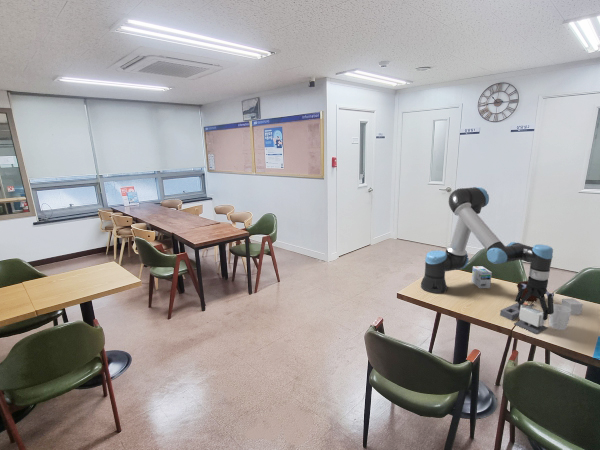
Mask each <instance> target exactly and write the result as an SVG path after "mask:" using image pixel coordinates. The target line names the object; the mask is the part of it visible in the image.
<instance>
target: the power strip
mask: <svg viewBox="0 0 600 450" xmlns="http://www.w3.org/2000/svg"><path fill="white" fill-rule="evenodd" d="M523 304H525V306H529V307H532V308H533V307H534V306H535V304H534V303H531V304H528V303H527V302H526V301H525V302H524V303H523ZM518 307H519V303H518V302H516V303H513V304H512V305H509V306H506V307H504V308H502V309H500V313H499V316H501V317H503V318H505V319H507V320H510V321H514V320H516V319H518V318H520V317H519V313H520V310H518Z"/></svg>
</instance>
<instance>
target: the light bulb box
mask: <svg viewBox="0 0 600 450" xmlns="http://www.w3.org/2000/svg"><path fill="white" fill-rule="evenodd" d="M492 274H493V272H492V271H490V270H489V269H487V268H486V267H484V266H482V265H481V266H478V265H477V266H475V265H474V266H472V274H471V282H470V283H473V284H474V285H475V287H478V288H479V289H491V283H492V276H493V275H492Z"/></svg>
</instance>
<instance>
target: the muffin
mask: <svg viewBox="0 0 600 450" xmlns="http://www.w3.org/2000/svg"><path fill="white" fill-rule="evenodd" d="M523 283H524V284H525V285H527V284H528V280H523V281H520V282H519V283H518V284H517V285H516V287H517V290H518V291H517V293H518V292H519V289H520V284H523ZM527 292H528V290H527V288H525V290H524V292H523V295H522V297H521V299H522V298H523V297H524V296H525V295H526V293H527ZM521 299H520V300H521ZM538 300H539V299H538V297H536V296H533V295H530V297H529V298H528V299H527V300H526V301H525V302H527V301H528V303H530V302H531V303H535V302H537V301H538ZM534 301H535V302H534Z"/></svg>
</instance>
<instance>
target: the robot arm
mask: <svg viewBox="0 0 600 450" xmlns="http://www.w3.org/2000/svg"><path fill="white" fill-rule="evenodd" d="M489 203H490V197H489V193H488V192H487V190H486V189H485V188H483V187H477V186H474V187H466V188H462V187H461V188H457V189H455V190H452V192H451V193H450V195H449V197H448V206H449V208H450V210H451V211H452V213H453V214H454V215H455V216H458V219H457V222H456V225H455V227H454V232H453V235H452V238H451V242H450V244H449V245H448V246H447V247H446V249H445V251H444V250H440V249H439V250H431V251H428V252H427V253H426V255H425V260H424V261H425V263H424V264H425V265H424V276H423V278H422V280H421V283H420V288H421V289H422V290H423V291H425V292H428V293H432V294H443V293H446V292H447V289H448V285H447V282H446V272H452V271H457V270H458V271H459V270H461V269H464V268H466V267H467V265H468V263H469V261H470V260H469V259H470V258H469V255H468V252H467V250H466V248H467V245H468V241H469V238H470V237H471V236H470V234H471V233H472V234H473V235H474V237H475V238H476V239H477V240H478V241H479V242H480V244H481V246H483V247H484V248H485V250H486V251H487V252H486V256H487V260H488V261H489V262H490V263H492V264H495V265H496V264H504V263H509V262H515V261H523V262H527V263H530V265H529V271H528V276H527V277H528V278H527V281H528V284H527V285H525V284H524V283H523V284H520V289H519V292H518V291H517V293H516V296H515V299H514V301H515V302H516V303H519V307H518V310H520V312H521V308H523V307H525V304H523V303H524V302H525V303H526V302H527V301H526V300H527V299H528V298H529V297H530V295H533V296H536V297H538V299H537V300H539V301H538V302H539V303H540V307H541V311H542V312H543V313H541V318H540V324H539V326H542V325H543V326H545V321H547V320H548V319H549V316H550V315H551V314H553V313H554V307H553V304H554V296H555V293H553V292H549V291H548V290H547V289H548V285H549V278H550V271H551V266H552V261H553V258H554V257H553V253H554V249H553V247H552V246H549V245H545V244H534V245H533V246H529V245H526V244H523V243H521V242H515V241H511V242H509V243H508V244H507V245H505V244H504V243H503V242H502V241H501V240H500V239H499V237H498V236H497V235H496V234H495V232H493V231H492V229H491V228H490V227H489V226H488V225H487V224H486V223H485V221H484V220H483V219H482V218H481V217H480V216H479V214H480V213H481V212H482V211H481V210H482V209H483V208H485V207H487V205H488V204H489ZM525 288H527V290H528V292H527V293H526V295H525V296H524V297H523V298H522V299H521V297H522V295H523V292H524V290H525ZM545 295H546V296H545ZM546 297H547V299H546ZM546 300H547V301H546ZM518 318H520V313H519V317H518Z"/></svg>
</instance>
